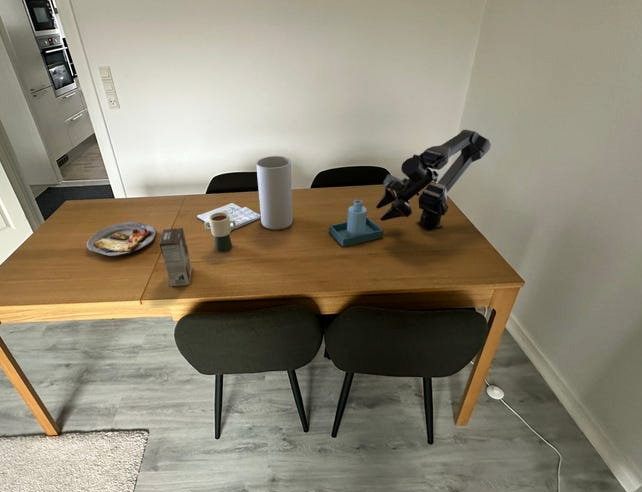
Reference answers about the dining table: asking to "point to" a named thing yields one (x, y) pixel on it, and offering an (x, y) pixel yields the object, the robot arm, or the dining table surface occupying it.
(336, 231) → the teal open tray
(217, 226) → the character mug
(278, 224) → the cylinder vase
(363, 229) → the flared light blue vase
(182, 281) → the coffee box
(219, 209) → the white printed square slab
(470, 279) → the dining table surface
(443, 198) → the robot arm
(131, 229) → the food plate
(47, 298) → the dining table surface
